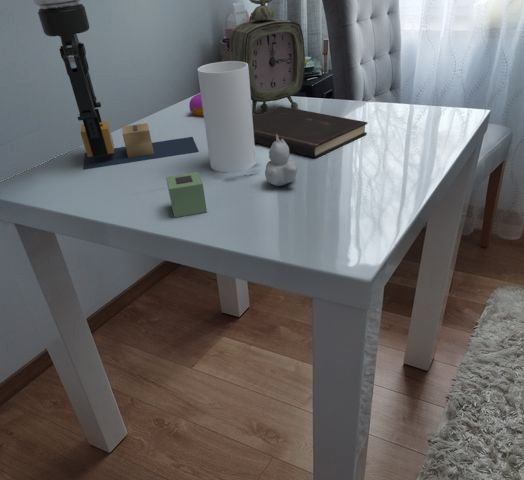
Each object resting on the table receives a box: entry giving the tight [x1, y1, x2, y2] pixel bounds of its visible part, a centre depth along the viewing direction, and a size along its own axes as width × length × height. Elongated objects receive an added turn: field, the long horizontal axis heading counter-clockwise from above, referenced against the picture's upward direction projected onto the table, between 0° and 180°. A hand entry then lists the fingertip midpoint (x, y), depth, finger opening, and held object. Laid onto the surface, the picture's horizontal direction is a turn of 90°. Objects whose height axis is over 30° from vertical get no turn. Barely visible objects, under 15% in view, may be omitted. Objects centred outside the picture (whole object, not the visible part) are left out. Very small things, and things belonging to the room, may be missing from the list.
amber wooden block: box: [79, 120, 115, 157], centre depth 96 cm, size 5×5×5 cm
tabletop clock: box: [228, 0, 306, 117], centre depth 108 cm, size 14×9×25 cm, turn 118°
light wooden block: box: [121, 122, 154, 158], centre depth 98 cm, size 5×5×5 cm
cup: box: [197, 60, 257, 173], centre depth 86 cm, size 8×8×16 cm
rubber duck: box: [264, 134, 298, 187], centre depth 81 cm, size 5×7×8 cm
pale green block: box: [165, 171, 208, 218], centre depth 77 cm, size 5×5×5 cm
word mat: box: [82, 136, 200, 171], centre depth 100 cm, size 22×10×1 cm, turn 103°
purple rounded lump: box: [189, 93, 204, 117], centre depth 117 cm, size 10×10×5 cm
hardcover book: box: [252, 105, 369, 159], centre depth 101 cm, size 16×23×2 cm
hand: (100, 149), depth 98 cm, fingers closed on amber wooden block, 5 cm apart
